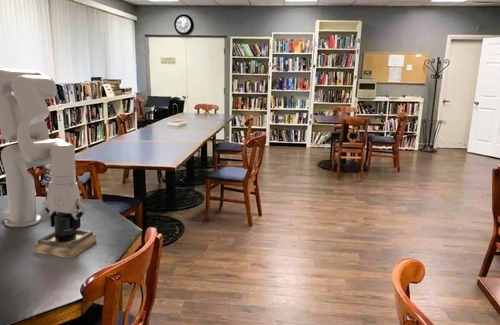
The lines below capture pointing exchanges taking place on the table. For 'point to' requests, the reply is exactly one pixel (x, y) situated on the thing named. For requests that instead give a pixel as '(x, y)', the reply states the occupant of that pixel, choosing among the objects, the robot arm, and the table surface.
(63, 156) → the robot arm
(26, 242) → the table surface
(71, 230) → the supplement bottle
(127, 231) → the table surface
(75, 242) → the wooden tray
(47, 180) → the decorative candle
